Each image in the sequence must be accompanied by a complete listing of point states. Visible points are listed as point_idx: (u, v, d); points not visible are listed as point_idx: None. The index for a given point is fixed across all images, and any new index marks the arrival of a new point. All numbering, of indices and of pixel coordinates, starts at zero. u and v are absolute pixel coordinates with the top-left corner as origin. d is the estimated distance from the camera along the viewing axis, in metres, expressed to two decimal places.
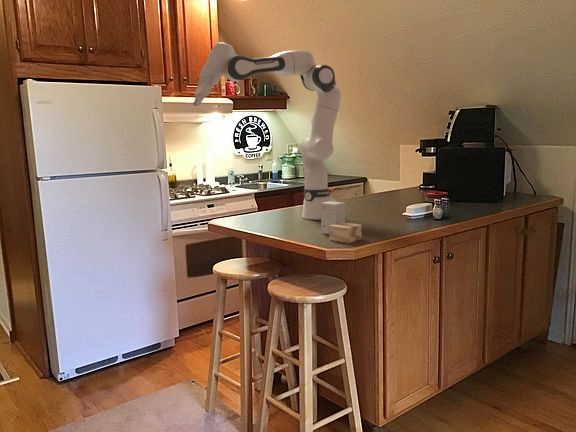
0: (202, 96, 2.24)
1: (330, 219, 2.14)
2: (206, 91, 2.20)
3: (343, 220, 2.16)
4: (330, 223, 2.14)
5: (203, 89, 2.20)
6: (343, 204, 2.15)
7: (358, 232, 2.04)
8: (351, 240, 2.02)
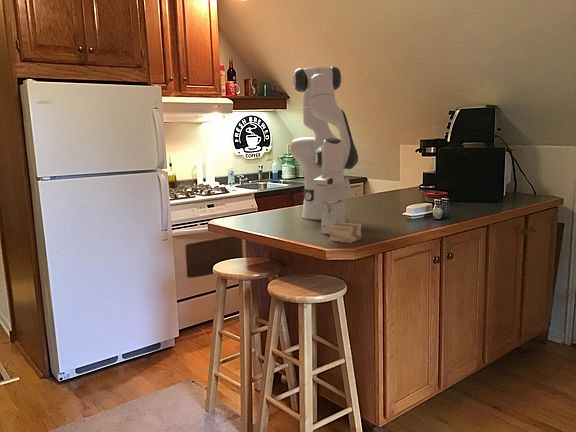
0: None
1: (330, 219, 2.14)
2: None
3: (343, 220, 2.16)
4: (330, 223, 2.14)
5: None
6: (343, 204, 2.15)
7: (358, 231, 2.05)
8: (352, 240, 2.02)
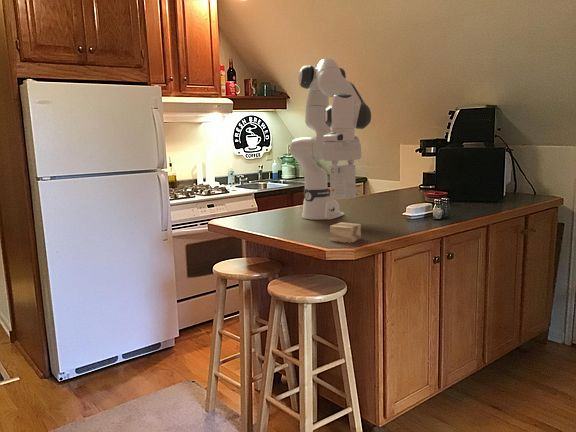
0: None
1: (339, 182, 2.02)
2: None
3: (354, 183, 2.03)
4: (339, 186, 2.02)
5: None
6: (353, 166, 2.03)
7: (358, 231, 2.05)
8: (353, 240, 2.02)
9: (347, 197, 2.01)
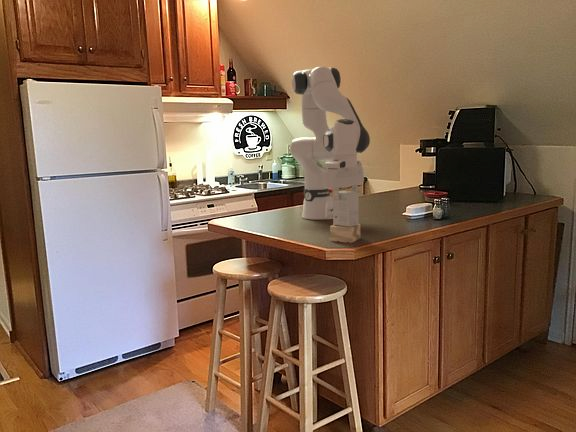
0: None
1: (343, 209, 2.01)
2: None
3: (357, 211, 2.03)
4: (343, 213, 2.01)
5: None
6: (357, 193, 2.02)
7: (358, 231, 2.05)
8: (353, 240, 2.02)
9: (350, 225, 2.01)
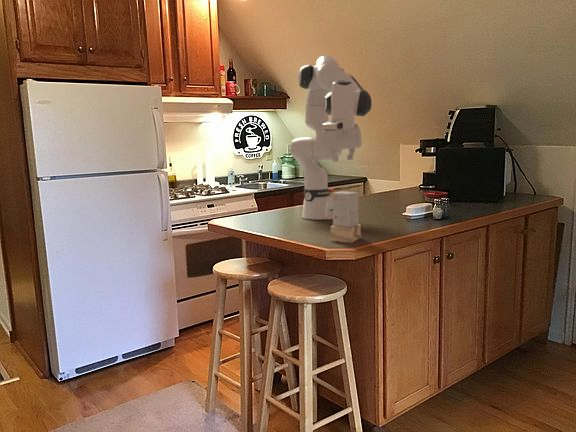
0: None
1: (343, 210, 2.01)
2: None
3: (357, 211, 2.03)
4: (343, 214, 2.01)
5: None
6: (356, 194, 2.02)
7: (358, 231, 2.05)
8: (354, 240, 2.02)
9: (350, 225, 2.01)
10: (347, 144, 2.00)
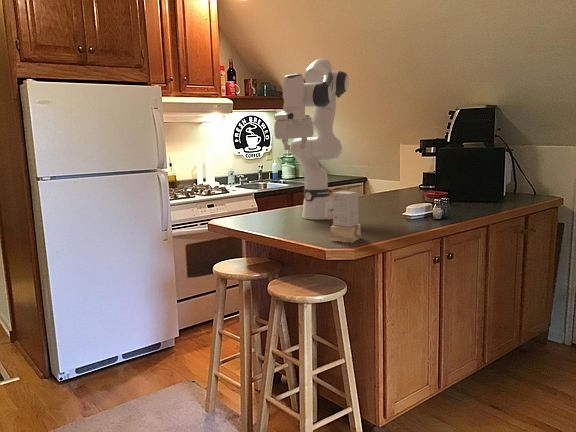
0: None
1: (343, 210, 2.01)
2: None
3: (357, 211, 2.03)
4: (343, 214, 2.01)
5: None
6: (356, 194, 2.02)
7: (358, 231, 2.06)
8: (354, 240, 2.02)
9: (350, 225, 2.01)
10: (299, 134, 2.11)
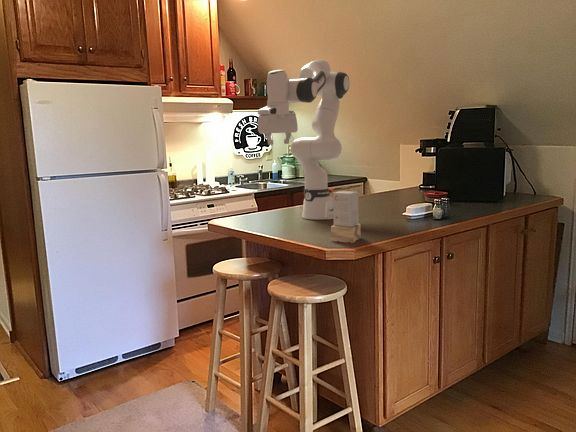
0: None
1: (344, 210, 2.01)
2: None
3: (357, 210, 2.03)
4: (344, 214, 2.01)
5: None
6: (357, 193, 2.02)
7: (358, 231, 2.06)
8: (354, 240, 2.02)
9: (352, 225, 2.01)
10: (282, 129, 2.15)
